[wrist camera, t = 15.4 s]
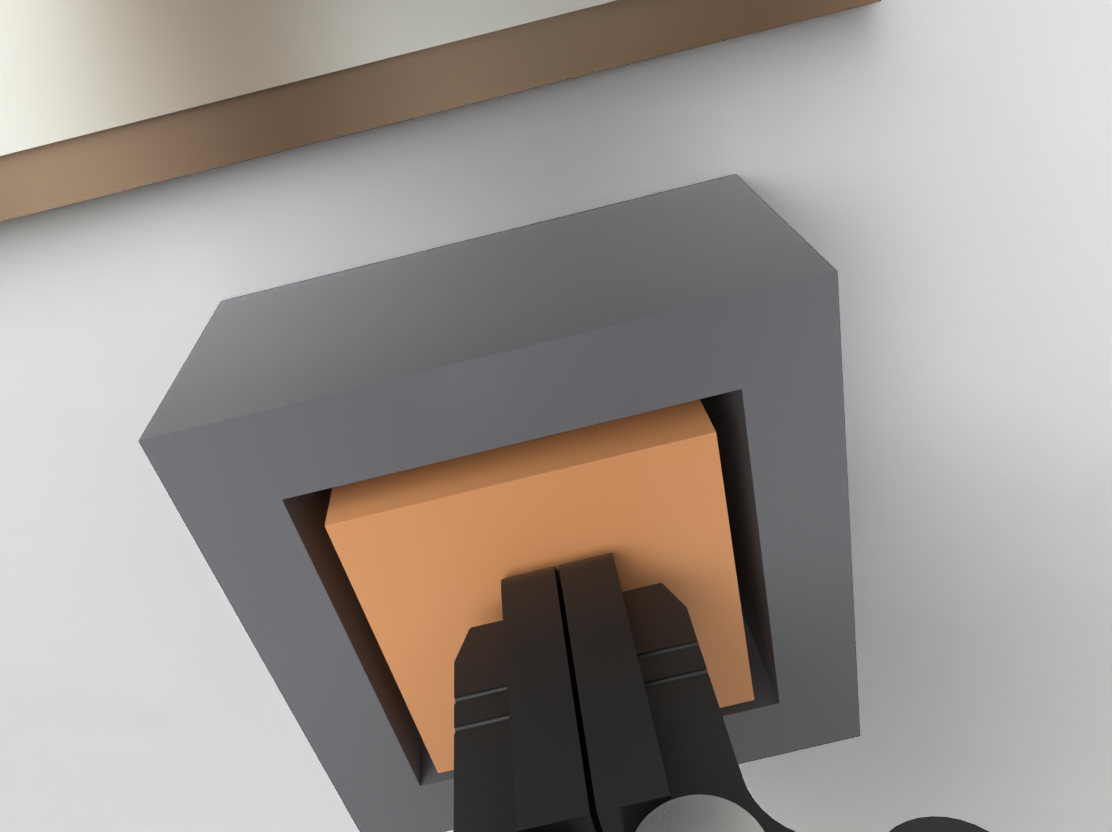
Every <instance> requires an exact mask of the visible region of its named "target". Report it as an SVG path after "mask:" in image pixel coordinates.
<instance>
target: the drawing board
mask: <svg viewBox="0 0 1112 832" xmlns="http://www.w3.org/2000/svg"><path fill="white" fill-rule="evenodd" d="M880 1H881V0H0V222H2V221H6V220H10V219H14V218H18V217H22V216H26V215H30V214H34V213H38V212H42V211H46V210H50V209H54V208H58V207H62V206H66V205H69V204H73V203H77V202H81V201H85V200H89V199H93V198H97V197H101V196H105V195H109V194H113V193H117V192H121V191H125V190H129V189H133V188H137V187H141V186H145V185H149V184H153V183H157V182H161V181H165V180H169V179H173V178H177V177H181V176H185V175H189V174H193V173H197V172H201V171H205V170H209V169H213V168H217V167H221V166H225V165H229V164H233V163H237V162H241V161H245V160H249V159H253V158H257V157H261V156H265V155H269V154H273V153H277V152H281V151H285V150H289V149H293V148H297V147H301V146H305V145H309V144H313V143H317V142H321V141H325V140H329V139H333V138H337V137H341V136H345V135H349V134H353V133H357V132H361V131H365V130H369V129H373V128H377V127H381V126H385V125H389V124H393V123H397V122H401V121H405V120H409V119H413V118H417V117H421V116H425V115H429V114H433V113H437V112H441V111H445V110H449V109H453V108H457V107H461V106H465V105H469V104H473V103H477V102H481V101H485V100H488V99H492V98H496V97H500V96H504V95H508V94H512V93H516V92H520V91H524V90H528V89H532V88H536V87H540V86H544V85H548V84H552V83H556V82H560V81H564V80H568V79H572V78H576V77H580V76H584V75H588V74H592V73H596V72H600V71H604V70H608V69H612V68H616V67H620V66H624V65H628V64H632V63H636V62H640V61H644V60H648V59H652V58H656V57H660V56H664V55H668V54H672V53H676V52H680V51H684V50H688V49H692V48H696V47H700V46H704V45H708V44H712V43H716V42H720V41H724V40H728V39H732V38H736V37H740V36H744V35H748V34H752V33H756V32H760V31H764V30H768V29H772V28H776V27H780V26H784V25H788V24H792V23H796V22H800V21H804V20H808V19H812V18H816V17H820V16H824V15H828V14H832V13H836V12H840V11H844V10H848V9H852V8H856V7H860V6H864V5H868V4H872V3H876V2H880Z"/></svg>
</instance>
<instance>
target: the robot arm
mask: <svg viewBox="0 0 1112 832" xmlns="http://www.w3.org/2000/svg"><path fill="white" fill-rule="evenodd" d="M559 569H560V577H561V583H562V586H561V583H560V579H559V576H558V572H557V569H556V567H555V566H554V567H550V568H546V569H542V570H537V571H533V572H529V573H525V574H521V575H516V576H512V577H508V578H504V579H502V580H501V598H502V613H503V620H501V621H497V622H493V623H488V624H484V625H480V626H475V627H471V628H470V629H469V631H468V633H467V635H466V637H465V640H464V642H463V644H462V646H461V648H460V650H459V653H458V655H457V657H456V659H455V661H454V699H455V704H454V728H455V734H454V832H795V831H793V830H791V829H788V828H786V827H784V826H783V825H781V824H780V823H778V822H777V821H775V820H774V819H772V818H771V817H770V816H769V815H768V814H767V813H765V812H764V811H763V810H762V809H761V808H760V806H759V805H758V804H757V803H756V802H755V801H754V799H753V798H752V796H751V794H750V793H749V791H748V790H747V787H746V785H745V783H744V780H743V778H742V775H741V771H740V768H739V765H738V762H737V759H736V756H735V753H734V750H733V747H732V744H731V741H730V738H729V735H728V732H727V729H726V726H725V723H724V719H723V716H722V713H721V710H720V707H719V704H718V701H717V698H716V695H715V692H714V689H713V686H712V683H711V680H710V677H709V675H708V672H707V667H706V664H705V661H704V658H703V655H702V652H701V649H700V647H699V644H698V640H697V637H696V634H695V631H694V628H693V625H692V622H691V619H690V615H689V612H688V609H687V607H686V606H685V605H684V604H683V603H682V602H681V601H680V600H679V599H678V598H677V597H676V596H675V595H674V594H673V593H672V592H671V591H670V590H669V589H668V588H667V587H666V586H665V585H664V584H663V583H658V584H653V585H649V586H645V587H641V588H636V589H632V590H628V591H624V592H622V590H621V586H620V582H619V578H618V574H617V569H616V565H615V561H614V557H613V553H608V554H604V555H600V556H596V557H592V558H587V559H583V560H579V561H575V562H570V563H566V564H562V565H559ZM889 832H989V831H987V830H984V829H982V828H980V827H978V826H976V825H974V824H971V823H968V822H965V821H962V820H958V819H953V818H948V817H933V816H932V817H923V818H917V819H913V820H910V821H906V822H904V823H902V824H900V825H898V826H896V827H895V828H893V829H892V830H891V831H889Z"/></svg>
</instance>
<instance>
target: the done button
mask: <svg viewBox="0 0 1112 832" xmlns="http://www.w3.org/2000/svg"><path fill="white" fill-rule="evenodd" d="M325 528H326V530H327V532H328V535H329V537H330V539H331V541H332V543H333V546H334V548H335V550H336V552H337V554H338V556H339V559H340V561H341V563H342V565H343V567H344V569H345V572H346V574H347V576H348V578H349V580H350V583H351V585H352V587H353V589H354V591H355V593H356V596H357V598H358V600H359V602H360V604H361V607H362V609H363V611H364V613H365V615H366V617H367V620H368V622H369V624H370V626H371V628H372V630H373V633H374V635H375V637H376V639H377V641H378V644H379V646H380V648H381V650H382V652H383V654H384V657H385V659H386V661H387V663H388V665H389V668H390V670H391V672H392V674H393V676H394V678H395V681H396V683H397V685H398V687H399V689H400V691H401V694H402V696H403V698H404V700H405V702H406V705H407V707H408V709H409V711H410V713H411V715H412V718H413V720H414V722H415V724H416V726H417V729H418V731H419V733H420V735H421V737H422V739H423V742H424V744H425V746H426V748H427V750H428V752H429V755H430V757H431V759H432V761H433V763H434V766H435V768H436V770H437V772H438V773H442V772H446V771H451V770H454V734H455V728H454V704H455V699H454V661H455V659H456V657H457V655H458V653H459V650H460V648H461V646H462V644H463V642H464V640H465V637H466V635H467V633H468V631H469V629H470V628H471V627H475V626H480V625H484V624H488V623H493V622H497V621H501V620H503V613H502V598H501V580H502V579H504V578H508V577H512V576H516V575H521V574H525V573H529V572H533V571H537V570H542V569H546V568H550V567H554V566H555V567H556V569H557V572H558V576H559V579H560V583H561V577H560V569H559V565H562V564H566V563H570V562H575V561H579V560H583V559H587V558H592V557H596V556H600V555H604V554H608V553H613V557H614V561H615V565H616V569H617V574H618V578H619V582H620V586H621V590H622V592H624V591H628V590H632V589H636V588H641V587H645V586H649V585H653V584H658V583H663V584H664V585H665V586H666V587H667V588H668V589H669V590H670V591H671V592H672V593H673V594H674V595H675V596H676V597H677V598H678V599H679V600H680V601H681V602H682V603H683V604H684V605H685V606H686V607H687V609H688V612H689V615H690V619H691V622H692V625H693V628H694V631H695V634H696V637H697V640H698V644H699V647H700V649H701V652H702V655H703V658H704V661H705V664H706V667H707V672H708V675H709V677H710V680H711V683H712V686H713V689H714V692H715V695H716V698H717V701H718V704H719V707H720V708H722V707H726V706H731V705H735V704H739V703H744V702H748V701H752V700H754V694H753V687H752V680H751V673H750V666H749V659H748V652H747V645H746V638H745V631H744V624H743V617H742V610H741V603H740V596H739V589H738V582H737V575H736V568H735V561H734V554H733V547H732V540H731V533H730V525H729V518H728V511H727V504H726V497H725V490H724V483H723V476H722V469H721V462H720V455H719V448H718V441H717V434H716V431H715V429H714V427H713V425H712V423H711V421H710V419H709V417H708V415H707V413H706V411H705V409H704V407H703V405H702V403H701V401H700V399H698V400H694V401H690V402H686V403H681V404H677V405H673V406H669V407H665V408H661V409H657V410H652V411H648V412H644V413H640V414H636V415H632V416H627V417H623V418H619V419H615V420H611V421H607V422H603V423H598V424H594V425H590V426H586V427H582V428H578V429H573V430H569V431H565V432H561V433H557V434H553V435H549V436H544V437H540V438H536V439H532V440H528V441H524V442H520V443H515V444H511V445H507V446H503V447H499V448H495V449H490V450H486V451H482V452H478V453H474V454H470V455H466V456H461V457H457V458H453V459H449V460H445V461H441V462H436V463H432V464H428V465H424V466H420V467H416V468H412V469H407V470H403V471H399V472H395V473H391V474H387V475H382V476H378V477H374V478H370V479H366V480H362V481H358V482H353V483H349V484H345V485H341V486H337V487H333V488H332V492H331V497H330V502H329V507H328V512H327V516H326V521H325ZM561 586H562V583H561Z"/></svg>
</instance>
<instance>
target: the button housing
mask: <svg viewBox="0 0 1112 832" xmlns="http://www.w3.org/2000/svg"><path fill="white" fill-rule="evenodd" d="M698 399H700V401H701V403H702V405H703V407H704V409H705V411H706V413H707V415H708V417H709V419H710V421H711V423H712V425H713V427H714V429H715V431H716V434H717V441H718V448H719V455H720V462H721V469H722V476H723V483H724V490H725V497H726V504H727V511H728V518H729V525H730V533H731V540H732V547H733V554H734V561H735V568H736V575H737V582H738V589H739V596H740V603H741V610H742V617H743V624H744V631H745V638H746V645H747V652H748V659H749V666H750V673H751V680H752V687H753V694H754V700H752V701H748V702H744V703H739V704H735V705H731V706H726V707H722V708H720V710H721V713H722V716H723V719H724V723H725V726H726V729H727V732H728V735H729V738H730V741H731V744H732V747H733V750H734V753H735V756H736V759H737V762H738V764H741V763H745V762H749V761H754V760H758V759H762V758H767V757H771V756H775V755H780V754H784V753H788V752H793V751H797V750H801V749H806V748H810V747H814V746H819V745H823V744H828V743H832V742H836V741H841V740H845V739H849V738H854V737H858V736H860V724H859V704H858V683H857V663H856V642H855V622H854V601H853V581H852V560H851V540H850V519H849V499H848V478H847V458H846V437H845V417H844V396H843V376H842V355H841V335H840V314H839V294H838V273H837V270H836V269H835V268H834V267H833V266H832V265H831V264H830V263H829V262H827V261H826V260H825V259H824V258H823V257H822V256H821V255H820V254H819V253H818V252H817V251H816V250H815V249H814V248H813V247H812V246H811V245H810V244H809V243H807V242H806V241H805V240H804V239H803V238H802V237H801V236H800V235H799V234H798V233H797V232H796V231H795V230H794V229H793V228H792V227H791V226H790V225H789V224H787V223H786V222H785V221H784V220H783V219H782V218H781V217H780V216H779V215H778V214H777V213H776V212H775V211H774V210H773V209H772V208H771V207H770V206H769V205H767V204H766V203H765V202H764V201H763V200H762V199H761V198H760V197H759V196H758V195H757V194H756V193H755V192H754V191H753V190H752V189H751V188H750V187H749V186H747V185H746V184H745V183H744V182H743V181H742V180H741V179H740V178H739V177H738V176H737V175H736V174H735V175H730V176H726V177H722V178H718V179H714V180H710V181H706V182H702V183H698V184H694V185H690V186H686V187H682V188H678V189H674V190H670V191H666V192H662V193H658V194H654V195H649V196H645V197H641V198H637V199H633V200H629V201H625V202H621V203H617V204H613V205H609V206H605V207H601V208H597V209H593V210H589V211H585V212H581V213H577V214H572V215H568V216H564V217H560V218H556V219H552V220H548V221H544V222H540V223H536V224H532V225H528V226H524V227H520V228H516V229H512V230H508V231H504V232H500V233H495V234H491V235H487V236H483V237H479V238H475V239H471V240H467V241H463V242H459V243H455V244H451V245H447V246H443V247H439V248H435V249H431V250H427V251H423V252H419V253H414V254H410V255H406V256H402V257H398V258H394V259H390V260H386V261H382V262H378V263H374V264H370V265H366V266H362V267H358V268H354V269H350V270H346V271H342V272H337V273H333V274H329V275H325V276H321V277H317V278H313V279H309V280H305V281H301V282H297V283H293V284H289V285H285V286H281V287H277V288H273V289H269V290H265V291H260V292H256V293H252V294H248V295H244V296H240V297H236V298H232V299H228V300H224V301H221V302H220V304H219V305H218V307H217V309H216V310H215V312H214V314H213V316H212V317H211V319H210V321H209V322H208V324H207V326H206V327H205V329H204V331H203V333H202V334H201V336H200V338H199V339H198V341H197V343H196V344H195V346H194V348H193V349H192V351H191V353H190V355H189V356H188V358H187V360H186V361H185V363H184V365H183V366H182V368H181V370H180V371H179V373H178V375H177V377H176V378H175V380H174V382H173V383H172V385H171V387H170V388H169V390H168V392H167V394H166V395H165V397H164V399H163V400H162V402H161V404H160V405H159V407H158V409H157V410H156V412H155V414H154V416H153V417H152V419H151V421H150V422H149V424H148V426H147V427H146V429H145V431H144V432H143V434H142V436H141V438H140V439H139V443H140V445H141V446H142V448H143V450H144V452H145V453H146V455H147V457H148V459H149V461H150V462H151V464H152V466H153V468H154V469H155V471H156V473H157V475H158V476H159V478H160V480H161V482H162V483H163V485H164V487H165V489H166V491H167V492H168V494H169V496H170V498H171V499H172V501H173V503H174V505H175V506H176V508H177V510H178V512H179V513H180V515H181V517H182V519H183V521H184V522H185V524H186V526H187V528H188V529H189V531H190V533H191V535H192V536H193V538H194V540H195V542H196V543H197V545H198V547H199V549H200V551H201V552H202V554H203V556H204V558H205V559H206V561H207V563H208V565H209V566H210V568H211V570H212V572H213V573H214V575H215V577H216V579H217V581H218V582H219V584H220V586H221V588H222V589H223V591H224V593H225V595H226V596H227V598H228V600H229V602H230V603H231V605H232V607H233V609H234V611H235V612H236V614H237V616H238V618H239V619H240V621H241V623H242V625H243V626H244V628H245V630H246V632H247V633H248V635H249V637H250V639H251V641H252V642H253V644H254V646H255V648H256V649H257V651H258V653H259V655H260V656H261V658H262V660H263V662H264V663H265V665H266V667H267V669H268V671H269V672H270V674H271V676H272V678H273V679H274V681H275V683H276V685H277V686H278V688H279V690H280V692H281V693H282V695H283V697H284V699H285V701H286V702H287V704H288V706H289V708H290V709H291V711H292V713H293V715H294V716H295V718H296V720H297V722H298V723H299V725H300V727H301V729H302V731H303V732H304V734H305V736H306V738H307V739H308V741H309V743H310V745H311V746H312V748H313V750H314V752H315V753H316V755H317V757H318V759H319V761H320V762H321V764H322V766H323V768H324V769H325V771H326V773H327V775H328V776H329V778H330V780H331V782H332V783H333V785H334V787H335V789H336V791H337V792H338V794H339V796H340V798H341V799H342V801H343V803H344V805H345V806H346V808H347V810H348V812H349V813H350V815H351V817H352V819H353V821H354V822H355V824H356V826H357V828H358V829H359V831H360V832H446V831H450V830H454V770H451V771H446V772H442V773H438V772H437V770H436V768H435V766H434V763H433V761H432V759H431V757H430V755H429V752H428V750H427V748H426V746H425V744H424V742H423V739H422V737H421V735H420V733H419V731H418V729H417V726H416V724H415V722H414V720H413V718H412V715H411V713H410V711H409V709H408V707H407V705H406V702H405V700H404V698H403V696H402V694H401V691H400V689H399V687H398V685H397V683H396V681H395V678H394V676H393V674H392V672H391V670H390V668H389V665H388V663H387V661H386V659H385V657H384V654H383V652H382V650H381V648H380V646H379V644H378V641H377V639H376V637H375V635H374V633H373V630H372V628H371V626H370V624H369V622H368V620H367V617H366V615H365V613H364V611H363V609H362V607H361V604H360V602H359V600H358V598H357V596H356V593H355V591H354V589H353V587H352V585H351V583H350V580H349V578H348V576H347V574H346V572H345V569H344V567H343V565H342V563H341V561H340V559H339V556H338V554H337V552H336V550H335V548H334V546H333V543H332V541H331V539H330V537H329V535H328V532H327V530H326V528H325V521H326V516H327V512H328V507H329V502H330V497H331V492H332V488H333V487H337V486H341V485H345V484H349V483H353V482H358V481H362V480H366V479H370V478H374V477H378V476H382V475H387V474H391V473H395V472H399V471H403V470H407V469H412V468H416V467H420V466H424V465H428V464H432V463H436V462H441V461H445V460H449V459H453V458H457V457H461V456H466V455H470V454H474V453H478V452H482V451H486V450H490V449H495V448H499V447H503V446H507V445H511V444H515V443H520V442H524V441H528V440H532V439H536V438H540V437H544V436H549V435H553V434H557V433H561V432H565V431H569V430H573V429H578V428H582V427H586V426H590V425H594V424H598V423H603V422H607V421H611V420H615V419H619V418H623V417H627V416H632V415H636V414H640V413H644V412H648V411H652V410H657V409H661V408H665V407H669V406H673V405H677V404H681V403H686V402H690V401H694V400H698Z"/></svg>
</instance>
